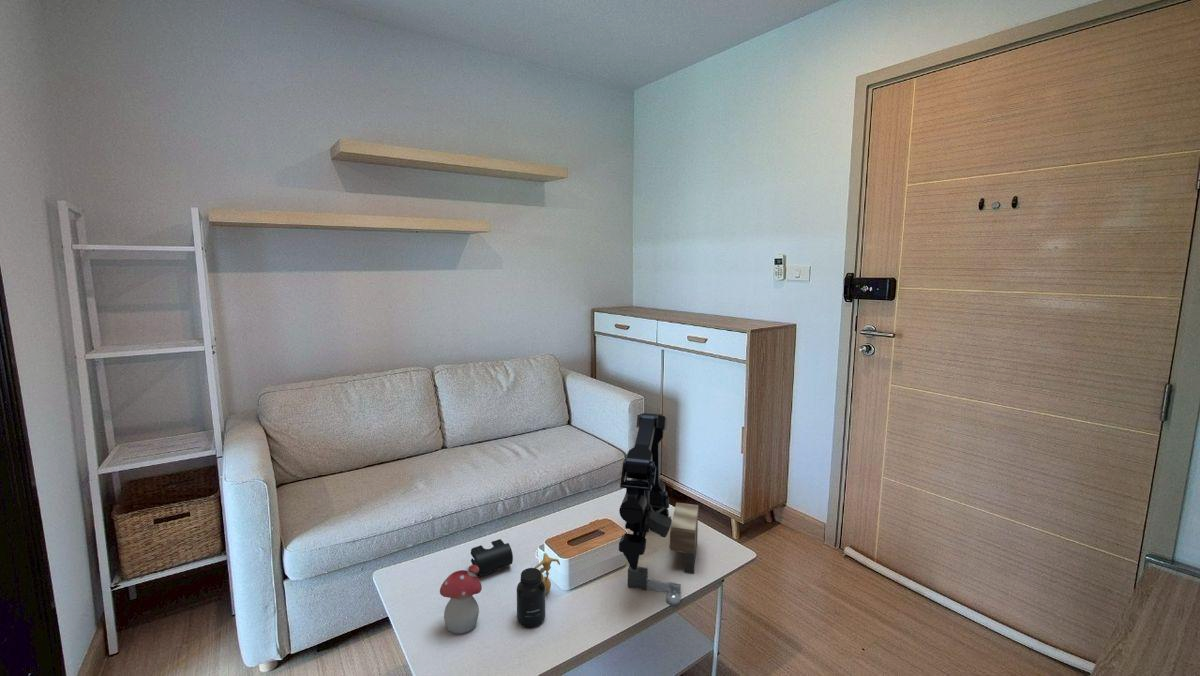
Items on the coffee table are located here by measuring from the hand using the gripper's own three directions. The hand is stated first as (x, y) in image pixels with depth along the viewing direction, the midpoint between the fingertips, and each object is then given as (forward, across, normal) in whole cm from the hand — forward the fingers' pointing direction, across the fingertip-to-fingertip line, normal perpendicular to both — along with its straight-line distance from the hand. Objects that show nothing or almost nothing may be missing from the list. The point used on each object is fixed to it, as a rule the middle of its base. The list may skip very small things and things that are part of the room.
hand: (637, 558), depth 130 cm
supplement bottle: (+8, -18, +22) cm, 30 cm away
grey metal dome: (+8, -3, -10) cm, 13 cm away
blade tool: (+8, 0, -4) cm, 9 cm away
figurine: (+8, -9, +22) cm, 26 cm away
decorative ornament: (+8, -24, +38) cm, 45 cm away
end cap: (+8, -3, +40) cm, 41 cm away
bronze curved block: (+8, +16, -11) cm, 21 cm away
